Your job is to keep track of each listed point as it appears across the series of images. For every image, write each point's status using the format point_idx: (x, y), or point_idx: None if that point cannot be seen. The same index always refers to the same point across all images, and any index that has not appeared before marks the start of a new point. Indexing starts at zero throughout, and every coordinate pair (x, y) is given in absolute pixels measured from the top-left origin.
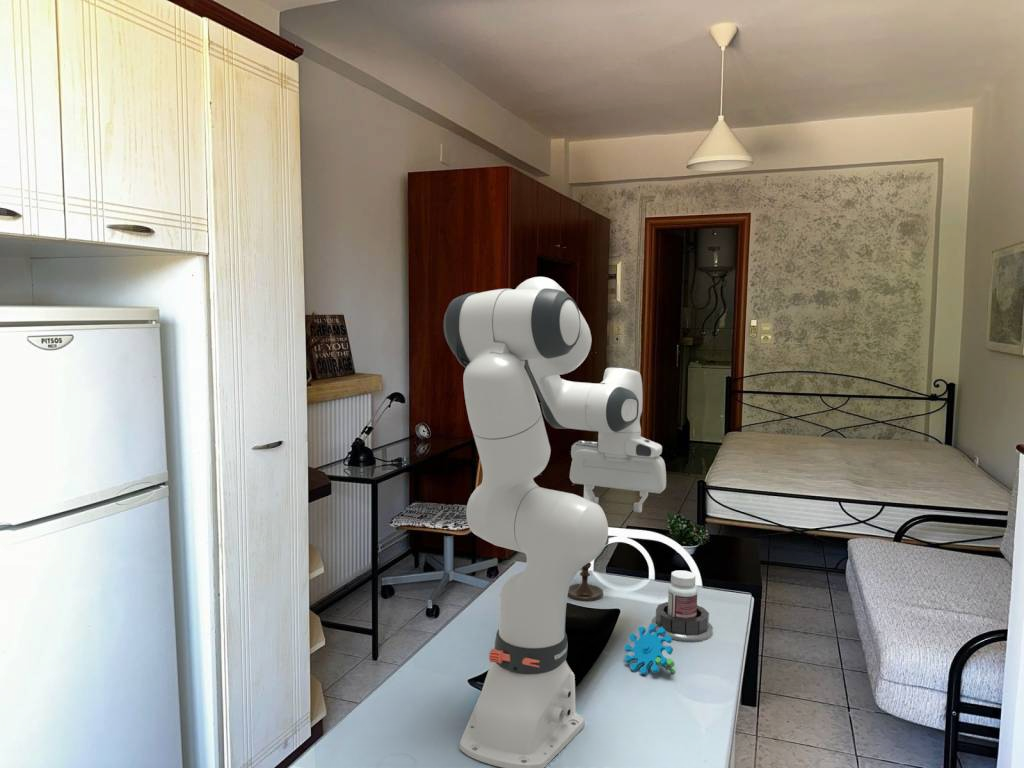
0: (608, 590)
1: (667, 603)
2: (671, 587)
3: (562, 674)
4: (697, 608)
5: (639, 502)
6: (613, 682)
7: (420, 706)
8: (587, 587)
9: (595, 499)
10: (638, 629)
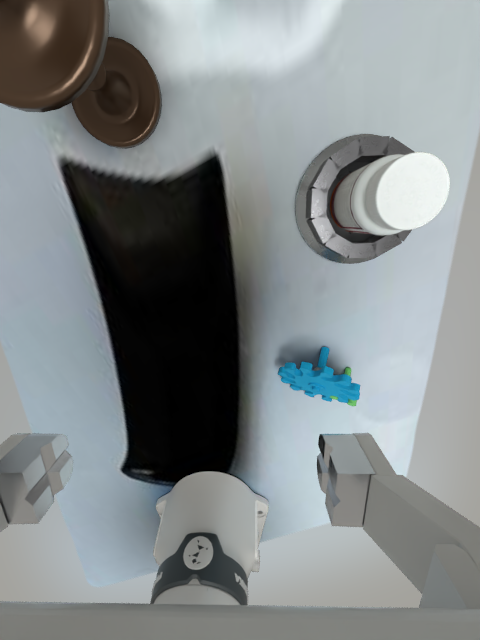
0: (158, 33)
1: (332, 166)
2: (363, 218)
3: (248, 573)
4: None
5: (383, 543)
6: (275, 419)
7: (112, 521)
8: (119, 97)
9: (33, 520)
10: (300, 369)
